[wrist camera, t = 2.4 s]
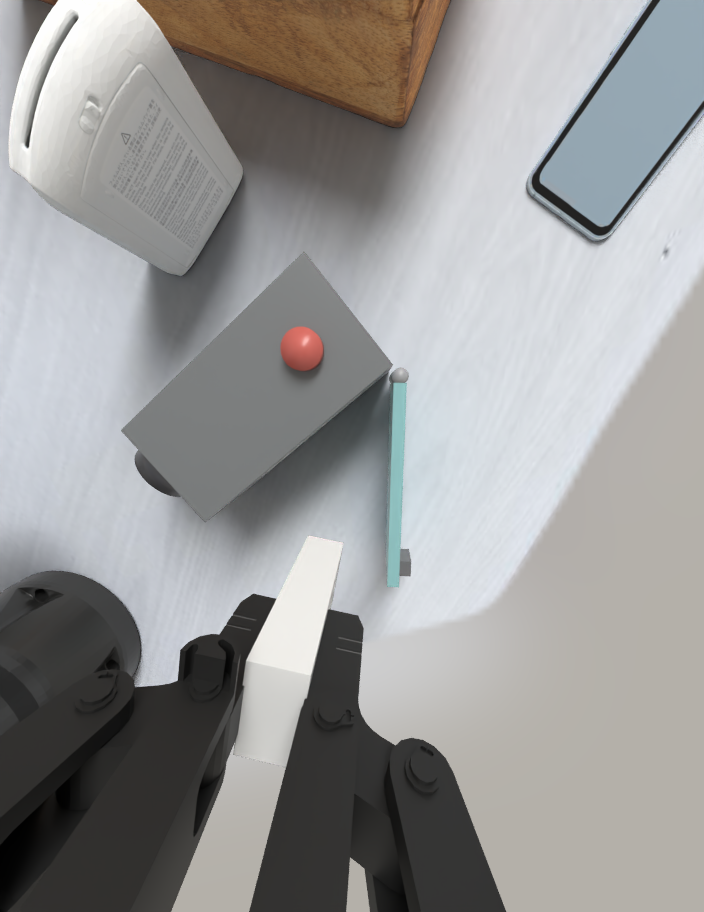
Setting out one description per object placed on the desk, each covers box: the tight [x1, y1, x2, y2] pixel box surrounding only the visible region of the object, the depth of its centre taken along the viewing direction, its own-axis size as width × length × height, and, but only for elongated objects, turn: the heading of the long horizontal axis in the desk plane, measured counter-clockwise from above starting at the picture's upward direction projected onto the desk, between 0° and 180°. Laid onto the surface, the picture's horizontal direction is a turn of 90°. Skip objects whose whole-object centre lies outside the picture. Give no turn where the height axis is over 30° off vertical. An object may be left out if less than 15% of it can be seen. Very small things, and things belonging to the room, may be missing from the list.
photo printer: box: [9, 0, 243, 276], centre depth 20 cm, size 10×4×12 cm, turn 143°
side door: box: [386, 368, 411, 587], centre depth 25 cm, size 15×2×6 cm, turn 0°
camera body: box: [121, 252, 393, 522], centre depth 25 cm, size 19×8×9 cm, turn 130°
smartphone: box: [527, 0, 704, 241], centre depth 23 cm, size 7×1×15 cm
